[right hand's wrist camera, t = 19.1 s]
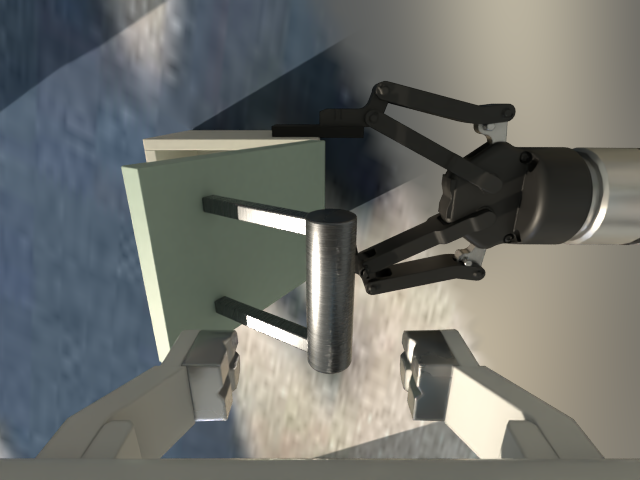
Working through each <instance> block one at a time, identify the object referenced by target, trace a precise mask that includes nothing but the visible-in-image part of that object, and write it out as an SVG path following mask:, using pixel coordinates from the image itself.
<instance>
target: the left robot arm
mask: <svg viewBox="0 0 640 480" xmlns="http://www.w3.org/2000/svg"><path fill="white" fill-rule="evenodd" d="M388 103H390V104H394V105H398V106H402V107H405V108H409V109H413V110H417V111H421V112H425V113H429V114H432V115H436V116H440V117H444V118H448V119H451V120H455V121H460V122H465V123H473V124H474V130H475V132H477V133H479V134H483V135H485V136H486V138H487V142H486V143H485V144H483V145H482V146H480V147H479V148H477V149H476V150H474V151H473V152H471V153H470V154H468V155H466V156H465V157H463V158H462V157H461V156H459V155H457V154H455V153H453V152H451V151H449V150H447V149H446V148H444V147H442V146H440V145H439V144H437V143H435V142H433V141H432V140H430V139H428V138H426V137H424V136H423V135H421V134H419V133H417V132H416V131H414V130H412V129H410V128H409V127H407V126H405V125H403V124H401V123H400V122H398V121H396V120H394V119H393V118H391V117H389V116H387V115H386V114H384V112H385V109H386V107H387V104H388ZM514 116H515V108H514V106H513V105H511V104H486V105H475V104H471V103H467V102H463V101H460V100H455V99H452V98H448V97H444V96H441V95H437V94H433V93H430V92H426V91H422V90H418V89H414V88H411V87H407V86H403V85H400V84H396V83H392V82H388V81H383V82H380V83H378V84H376V85H375V86H374V87H373V89H372V93H371V95H370V98H369V101H368V103H367V104H366V105H365V106H364V107H363V108H360V109H325V110H322V111H320V124H276V125H274V126H272V137H319V138H363V137H364V127H371V128H373V129H375V130H377V131H378V132H380V133H382V134H384V135H386V136H387V137H389V138H391V139H393V140H395V141H396V142H398V143H400V144H402V145H404V146H405V147H407V148H409V149H411V150H413V151H414V152H416V153H418V154H420V155H422V156H423V157H425V158H427V159H429V160H431V161H432V162H434V163H436V164H438V165H440V166H441V167H443V168H445V169H447V172H446V174H443V177H442V189H443V195H442V197H441V200H440V202H439V210H438V212H439V213H438V214H436V215H434V216H432V217H430V218H429V219H428V220H427V221H426V222H424V223H422V224H420V225H418V226H416V227H413V228H411V229H409V230H407V231H405V232H402V233H400V234H398V235H396V236H394V237H392V238H389V239H387V240H385V241H383V242H381V243H378V244H376V245H374V246H372V247H370V248H368V249H365V250H363V251H361V252H359V253H358V251H357V246H356V257H355V273H356V274H358V275H360V277H361V278H362V280H363V283H364V286H365V289H366V292H367V293H368V294H370V295H375V294H380V293H385V292H390V291H395V290H400V289H405V288H410V287H415V286H420V285H425V284H430V283H435V282H440V281H445V280H450V279H455V278H457V279H467V280H476V281H477V280H481V279H482V278H484V276H485V270H484V269H483V268H482V267H481V265H482V261H483V258H484V255H485V252H486V249H488V248H491V247H493V246H495V245H498V244H502V243H508V244H561V243H565V244H569V245H609V244H619V245H630V244H633V245H640V148H574V149H570V148H566V147H514V146H512V145H511V144H509V143H507V142H506V136H507V122H508V121H510V120H511V119H513V117H514ZM461 237H463V238H465V239H466V240H467V241H469V242H470V245H469V247H467V248H466V249H461V250H459V249H458V250H456V251H455V254H443V255H437V256H433V257H428V258H423V259H418V260H413V261H408V262H404V263H399V264H395V263H398V262H400V261H402V260H404V259H407V258H409V257H411V256H413V255H416V254H418V253H420V252H422V251H425V250H427V249H429V248H431V247H434V246H436V245H438V244H447V243H450V242H452V241H454V240H457V239H459V238H461ZM393 264H394V265H393Z"/></svg>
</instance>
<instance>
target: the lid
mask: <svg viewBox="0 0 640 480" xmlns="http://www.w3.org/2000/svg"><path fill="white" fill-rule="evenodd" d="M122 172H123V178H124V183H125V188H126V193H127V198H128V203H129V208H130V213H131V218H132V223H133V228H134V233H135V238H136V243H137V249H138V254H139V259H140V264H141V269H142V274H143V279H144V284H145V289H146V294H147V299H148V304H149V309H150V314H151V320H152V325H153V330H154V335H155V340H156V345H157V350H158V355H159V360H160V362H163V361H164V359H165V357H166V356H167V354H168V353H169V351H170V349H171V348H172V346H173V344H174V343H175V341H176V340H177V338H178V336H179V335H180V333H181V332H182V331H183V330H234V329H235V328H237V327H238V326H240V325H241V324H243V325H245V326H248V327H250V328H252V329H255V330H257V331H259V332H262V333H264V334H266V335H269V336H271V337H273V338H276V339H278V340H280V341H282V342H285V343H287V344H289V345H292V346H294V347H296V348H299V349H301V350H303V351H306V352H307V358H308V362H309V364H310V366H311V367H312V368H313V369H315V370H316V371H318V372H321V373H326V374H334V373H339V372H342V371H344V370H345V369H347V368H348V367H349V365H350V363H351V360H352V336H353V310H354V283H355V257H356V230H357V216H356V215H355V214H354V213H352V212H350V211H346V210H341V209H325V141H324V140H306V141H299V142H291V143H284V144H277V145H270V146H262V147H255V148H248V149H241V150H233V151H226V152H219V153H212V154H204V155H197V156H190V157H183V158H175V159H168V160H161V161H154V162H146V163H139V164H132V165H124V166H122ZM305 281H306V296H307V328H306V327H303V326H301V325H298V324H296V323H293V322H291V321H288V320H285V319H283V318H280V317H278V316H275V315H273V314H270V313H267V312H265V311H262V310H264V309H265V308H267V307H268V306H270V305H271V304H272V303H274V302H275V301H277V300H278V299H280V298H281V297H283V296H284V295H286V294H287V293H289V292H290V291H292V290H293V289H295V288H296V287H298V286H299V285H301V284H302V283H304V282H305Z"/></svg>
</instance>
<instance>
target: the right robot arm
mask: <svg viewBox="0 0 640 480" xmlns="http://www.w3.org/2000/svg"><path fill="white" fill-rule="evenodd" d="M237 344H238V338H237V332H236V331H235V330H183V331H182V332H181V333H180V335H179V336H178V338H177V340H176V341H175V343H174V344H173V346H172V348H171V349H170V351H169V353H168V354H167V356H166V357H165V359H164V361H163V362H162V364H161V366H154V367H152V368H151V369H149V370H147V371H146V372H144V373H142V374H141V375H139V376H137V377H136V378H134V379H132V380H131V381H129V382H127V383H126V384H124V385H122V386H121V387H119V388H117V389H116V390H114V391H112V392H111V393H109V394H107V395H106V396H104V397H102V398H101V399H99V400H97V401H96V402H94V403H92V404H91V405H89V406H87V407H86V408H84V409H82V410H81V411H79V412H77V413H76V414H74V415H72V416H71V417H69V418H67V419H66V421H65V422H64V423H63V424H62V426H61V427H60V428H59V429H58V431H57V432H56V433H55V434H54V436H53V437H52V438H51V439H50V440H49V442H48V443H47V444H46V445H45V447H44V448H43V449H42V450H41V452H40V453H39V454H38V455H37V457H36V458H0V480H640V459H605V458H604V457H603V455H602V454H601V453H600V452H599V450H598V449H597V448H596V447H595V445H594V444H593V443H592V442H591V440H590V439H589V438H588V437H587V435H586V434H585V433H584V432H583V430H582V429H581V428H580V427H579V425H578V424H577V423H576V422H575V420H574V419H572V418H571V417H569V416H567V415H566V414H564V413H562V412H561V411H559V410H557V409H556V408H554V407H552V406H551V405H549V404H547V403H546V402H544V401H542V400H541V399H539V398H537V397H536V396H534V395H532V394H531V393H529V392H527V391H526V390H524V389H522V388H521V387H519V386H517V385H516V384H514V383H512V382H511V381H509V380H507V379H506V378H504V377H502V376H501V375H499V374H497V373H496V372H494V371H492V370H491V369H489V368H487V367H486V366H479V364H478V362H477V361H476V359H475V358H474V356H473V354H472V353H471V351H470V350H469V348H468V346H467V345H466V343H465V342H464V340H463V338H462V337H461V335H460V334H459V332H458V331H457V330H455V329H449V330H421V331H404V333H403V337H402V344H403V347H404V350H405V351H404V352H403V353H402V354H401V357H400V375H401V380H402V384H403V388H404V389H405V390H406V391H407V392H408V398H407V402H408V405H409V408H410V412H411V415H412V418H413V420H424V421H445V423H446V424H447V425H448V426H449V427H450V428H451V429H452V430H453V431H454V432H455V433H456V434H457V436H458V437H459V438H460V439H461V440H462V441H463V442H464V443H465V444H466V445H467V446H468V447H469V448H470V449H471V450H472V451H473V452H474V453H475V454H476V455H477V456H478V457H479V458H480V459H280V458H262V459H160V458H161V457H162V456H163V455H164V454H165V453H166V452H167V451H168V450H169V449H170V448H171V447H172V446H173V445H174V444H175V443H176V442H177V441H178V440H179V439H180V438H181V437H182V436H183V435H184V434H185V433H186V432H187V431H188V430H189V429H190V428H191V427H192V426H193V425H194V424H195V421H216V420H227V418H228V415H229V412H230V408H231V405H232V402H233V398H232V392H233V391H234V390H235V389H236V388H237V384H238V381H239V373H240V357H239V354H238V353H237V352H236V351H235V350H236V347H237Z"/></svg>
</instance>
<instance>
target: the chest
mask: <svg viewBox="0 0 640 480" xmlns="http://www.w3.org/2000/svg"><path fill="white" fill-rule="evenodd" d="M306 140H320V138H319V137H272V130H189V131H183V132H178V133H173V134H168V135H162V136H157V137H152V138H147V139H143V143H144V148H145V154H146V160H147V162H154V161H161V160H168V159H175V158H183V157H190V156H197V155H204V154H212V153H219V152H226V151H233V150H241V149H248V148H255V147H262V146H270V145H277V144H284V143H291V142H299V141H306Z"/></svg>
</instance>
